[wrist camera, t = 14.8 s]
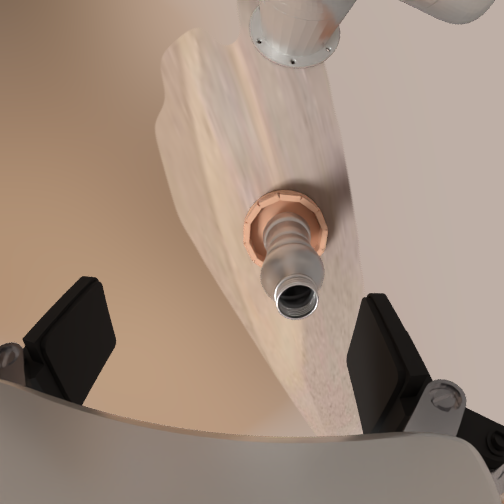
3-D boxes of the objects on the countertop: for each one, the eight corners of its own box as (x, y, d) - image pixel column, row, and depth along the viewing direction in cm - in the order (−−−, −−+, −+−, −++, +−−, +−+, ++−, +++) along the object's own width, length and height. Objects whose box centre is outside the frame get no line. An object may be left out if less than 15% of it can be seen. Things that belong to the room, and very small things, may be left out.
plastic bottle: (317, 230, 44) (351, 300, 25) (283, 260, 46) (293, 345, 27) (287, 198, 42) (302, 250, 24) (253, 230, 44) (242, 302, 26)
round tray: (246, 186, 43) (245, 190, 40) (329, 194, 43) (334, 198, 40) (241, 263, 47) (240, 271, 45) (318, 269, 47) (321, 278, 44)
